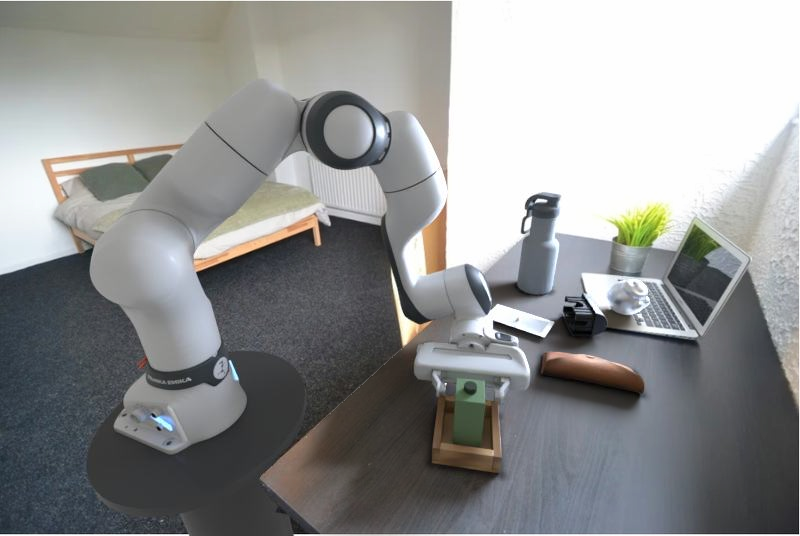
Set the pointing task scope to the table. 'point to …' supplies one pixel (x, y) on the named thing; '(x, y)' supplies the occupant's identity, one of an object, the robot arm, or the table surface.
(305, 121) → the robot arm
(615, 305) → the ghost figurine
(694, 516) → the table surface
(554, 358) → the sunglasses case
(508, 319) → the white shallow tray
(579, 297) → the end cap
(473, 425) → the green carton with cap
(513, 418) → the table surface
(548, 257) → the water bottle
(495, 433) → the wooden tray
